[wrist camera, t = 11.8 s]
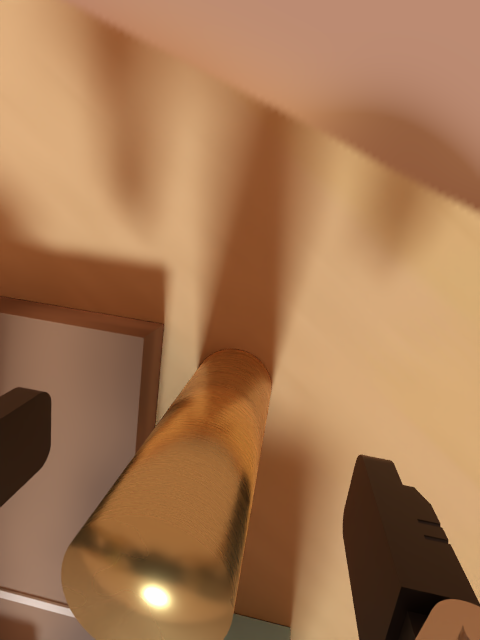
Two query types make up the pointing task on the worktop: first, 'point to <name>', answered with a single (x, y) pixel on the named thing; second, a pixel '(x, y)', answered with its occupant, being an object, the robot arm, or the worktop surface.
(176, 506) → the pin
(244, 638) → the block
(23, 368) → the board
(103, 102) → the worktop surface
